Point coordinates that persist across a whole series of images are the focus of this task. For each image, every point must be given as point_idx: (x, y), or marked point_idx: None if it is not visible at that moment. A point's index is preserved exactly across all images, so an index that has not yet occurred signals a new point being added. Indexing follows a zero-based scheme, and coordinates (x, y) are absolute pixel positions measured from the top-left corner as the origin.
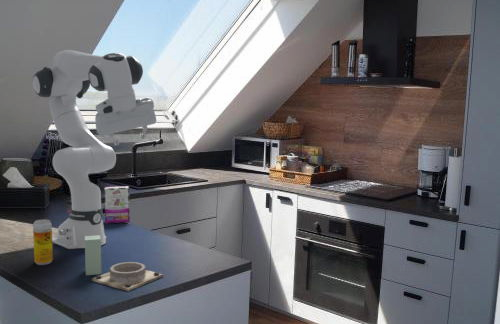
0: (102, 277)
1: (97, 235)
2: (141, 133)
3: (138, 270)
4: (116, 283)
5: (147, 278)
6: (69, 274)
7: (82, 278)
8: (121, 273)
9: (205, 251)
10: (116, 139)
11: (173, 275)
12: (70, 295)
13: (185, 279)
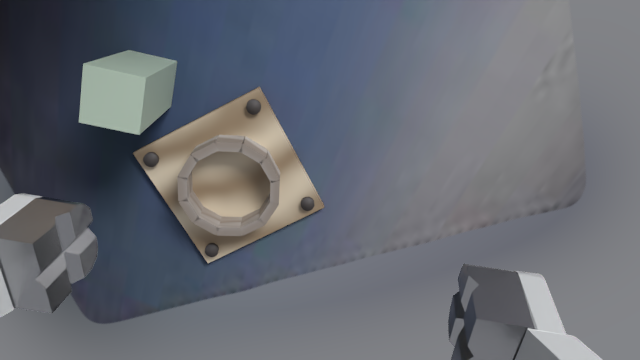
0: (162, 159)
1: (135, 77)
2: (499, 343)
3: (249, 226)
4: (189, 218)
5: (275, 219)
6: (76, 63)
7: None
8: (200, 226)
9: (549, 45)
10: (21, 266)
11: (352, 207)
12: None
13: (366, 246)
